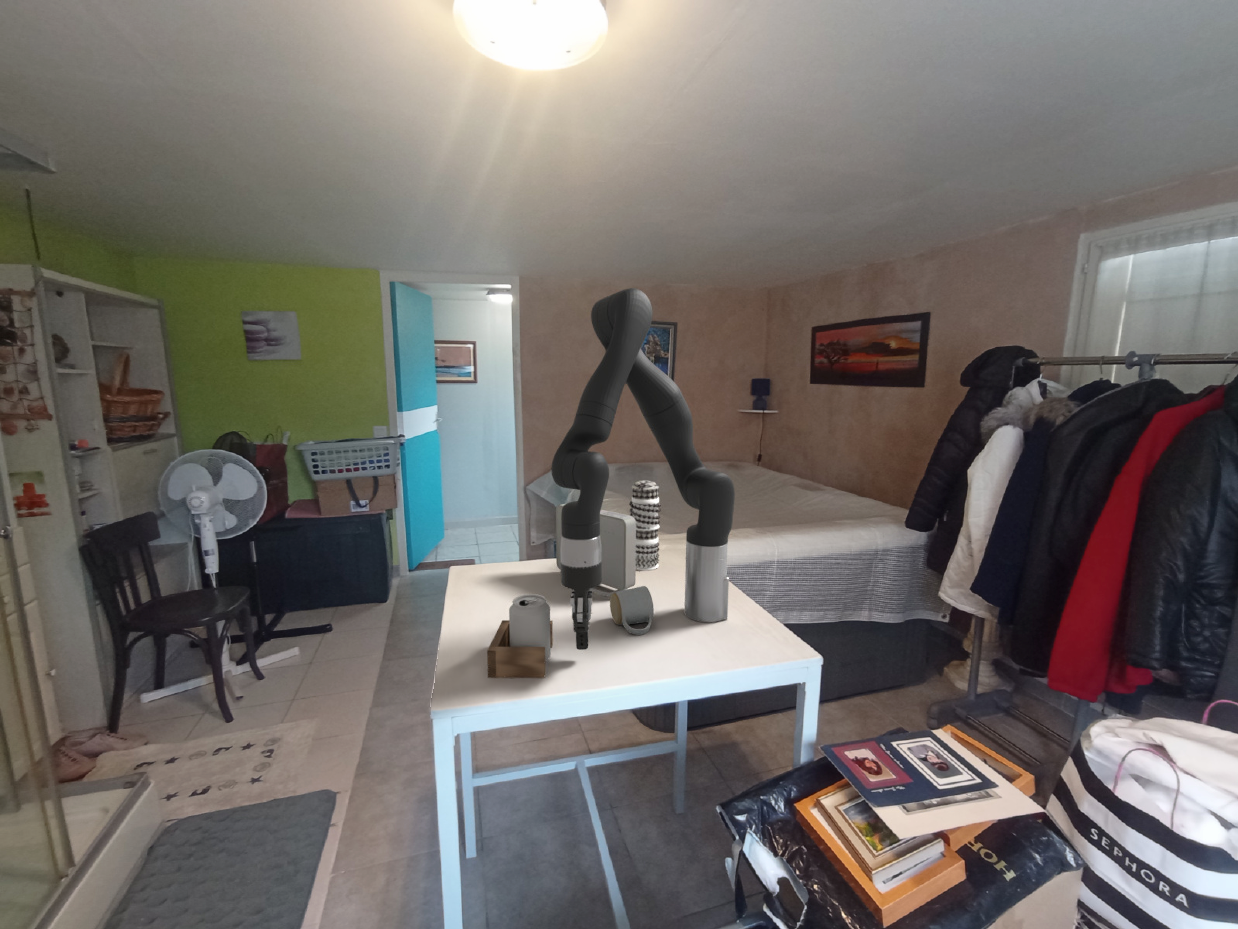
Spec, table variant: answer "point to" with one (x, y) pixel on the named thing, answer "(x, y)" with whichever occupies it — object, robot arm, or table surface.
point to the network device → (611, 549)
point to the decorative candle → (646, 523)
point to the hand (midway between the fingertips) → (582, 647)
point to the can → (530, 622)
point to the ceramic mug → (632, 608)
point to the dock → (515, 656)
